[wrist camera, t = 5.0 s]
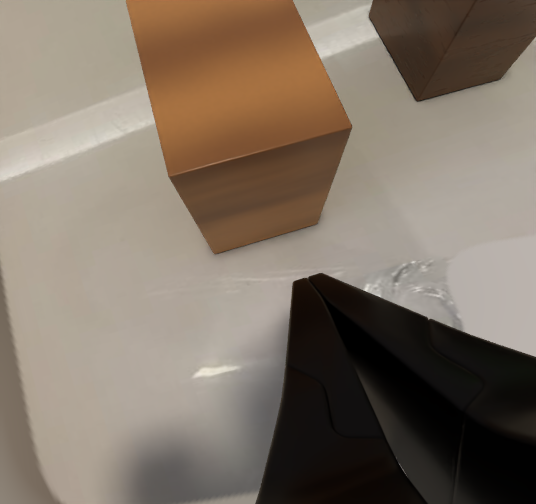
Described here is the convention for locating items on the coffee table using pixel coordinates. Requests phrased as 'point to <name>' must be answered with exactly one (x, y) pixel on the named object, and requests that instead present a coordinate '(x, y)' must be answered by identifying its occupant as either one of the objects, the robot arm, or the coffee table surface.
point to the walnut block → (453, 40)
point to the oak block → (241, 114)
